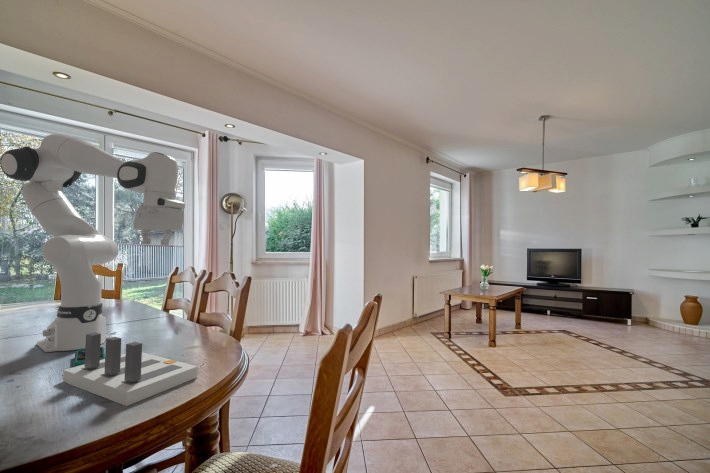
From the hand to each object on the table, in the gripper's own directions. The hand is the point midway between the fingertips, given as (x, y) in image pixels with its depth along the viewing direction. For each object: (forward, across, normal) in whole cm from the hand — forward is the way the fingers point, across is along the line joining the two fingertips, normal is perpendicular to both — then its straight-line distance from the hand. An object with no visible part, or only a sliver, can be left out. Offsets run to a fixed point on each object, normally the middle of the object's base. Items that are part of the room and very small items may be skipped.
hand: (155, 244), depth 104 cm
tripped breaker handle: (+33, +14, -17) cm, 39 cm away
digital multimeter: (+38, -11, -10) cm, 40 cm away
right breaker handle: (+33, +23, -17) cm, 43 cm away
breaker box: (+36, +14, -12) cm, 40 cm away
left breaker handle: (+33, +5, -17) cm, 37 cm away
